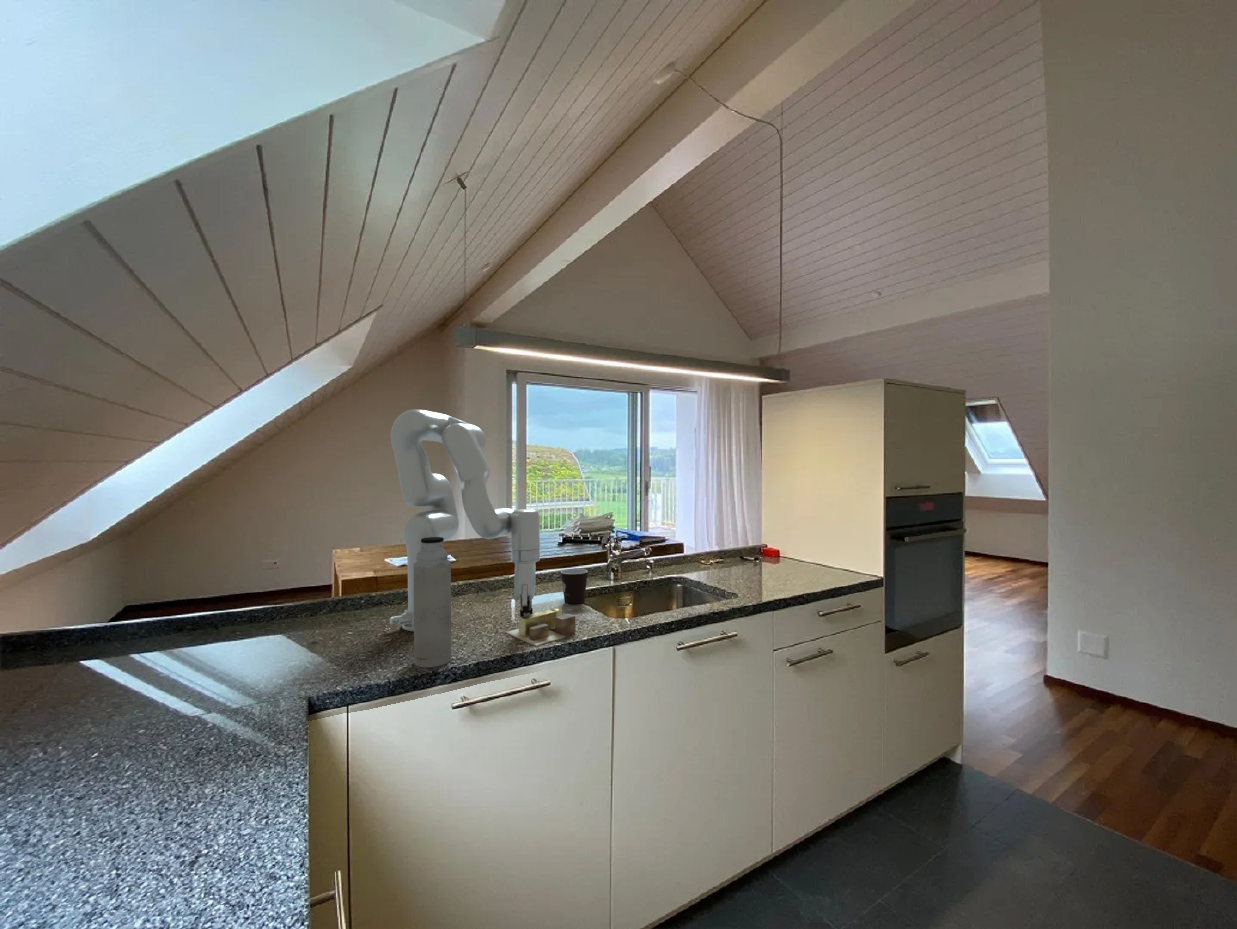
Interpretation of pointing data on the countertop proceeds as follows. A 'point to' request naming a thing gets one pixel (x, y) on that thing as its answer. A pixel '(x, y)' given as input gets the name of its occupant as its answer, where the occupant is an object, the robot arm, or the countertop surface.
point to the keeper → (539, 632)
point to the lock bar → (538, 620)
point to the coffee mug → (574, 585)
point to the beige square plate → (552, 637)
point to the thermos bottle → (432, 604)
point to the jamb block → (565, 624)
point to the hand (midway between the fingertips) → (526, 623)
